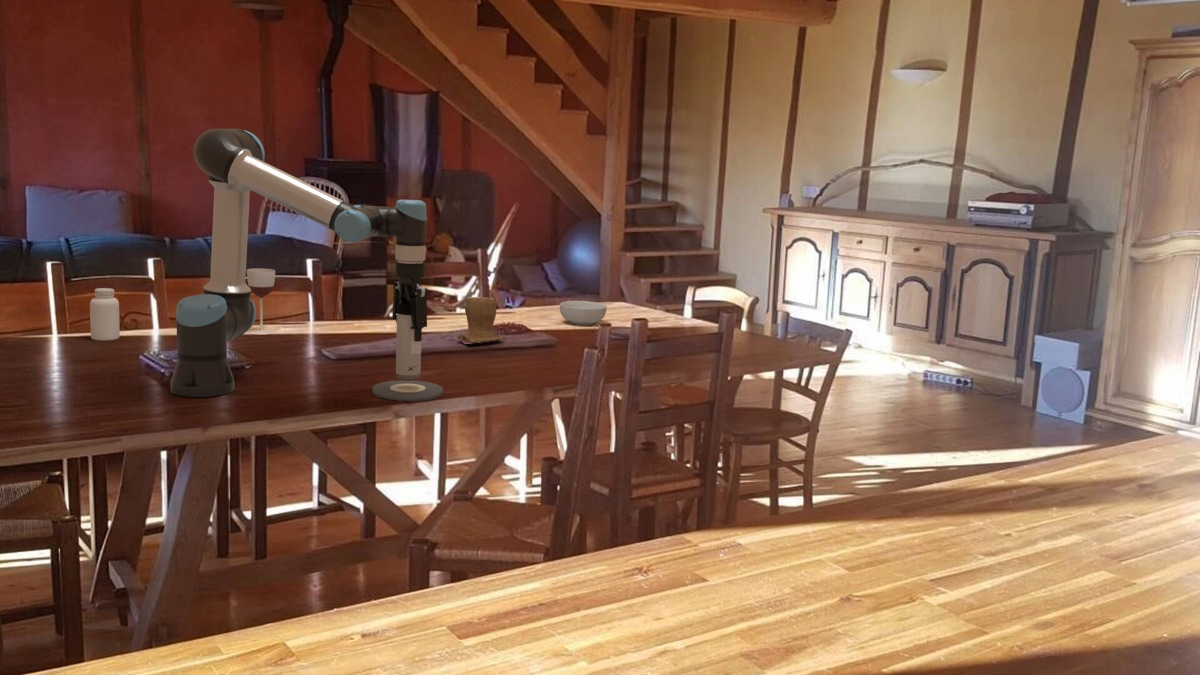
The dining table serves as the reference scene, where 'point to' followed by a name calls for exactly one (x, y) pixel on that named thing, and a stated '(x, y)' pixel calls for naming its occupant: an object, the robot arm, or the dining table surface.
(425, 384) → the grey flat disc
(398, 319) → the travel mug
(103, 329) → the pill bottle
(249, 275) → the wineglass
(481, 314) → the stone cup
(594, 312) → the cereal bowl
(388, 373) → the dining table surface
